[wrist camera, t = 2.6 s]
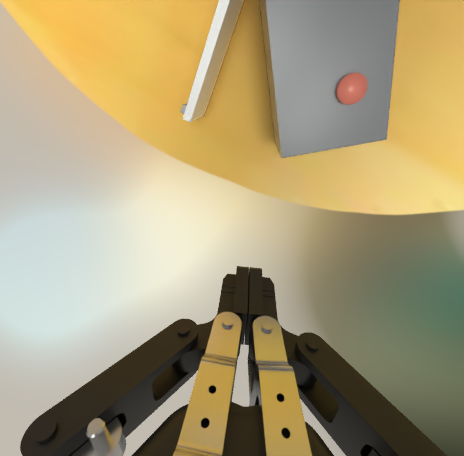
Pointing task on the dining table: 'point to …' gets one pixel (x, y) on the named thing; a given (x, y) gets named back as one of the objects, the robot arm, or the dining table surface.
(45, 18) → the dining table surface
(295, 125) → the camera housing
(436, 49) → the dining table surface
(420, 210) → the dining table surface
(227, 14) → the side door
